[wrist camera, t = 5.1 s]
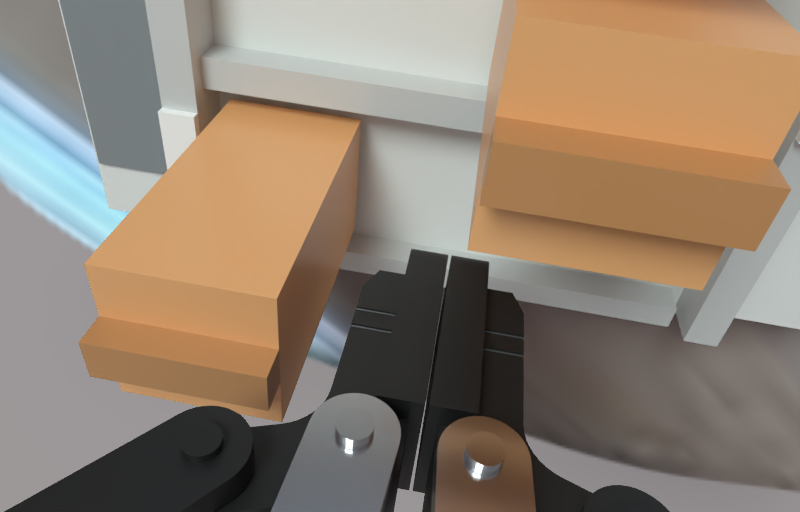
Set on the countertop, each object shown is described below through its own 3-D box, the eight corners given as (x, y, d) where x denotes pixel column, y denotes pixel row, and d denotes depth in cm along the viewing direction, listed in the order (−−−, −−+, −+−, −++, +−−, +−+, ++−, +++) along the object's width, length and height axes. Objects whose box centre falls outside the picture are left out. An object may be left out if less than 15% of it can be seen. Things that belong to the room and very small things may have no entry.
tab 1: (360, 119, 14) (262, 327, 9) (354, 227, 16) (271, 450, 11) (231, 98, 14) (60, 290, 9) (240, 207, 16) (103, 417, 11)
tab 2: (695, -69, 11) (851, 84, 6) (637, 95, 13) (713, 323, 7) (520, -92, 11) (515, 34, 6) (489, 73, 13) (463, 279, 8)
